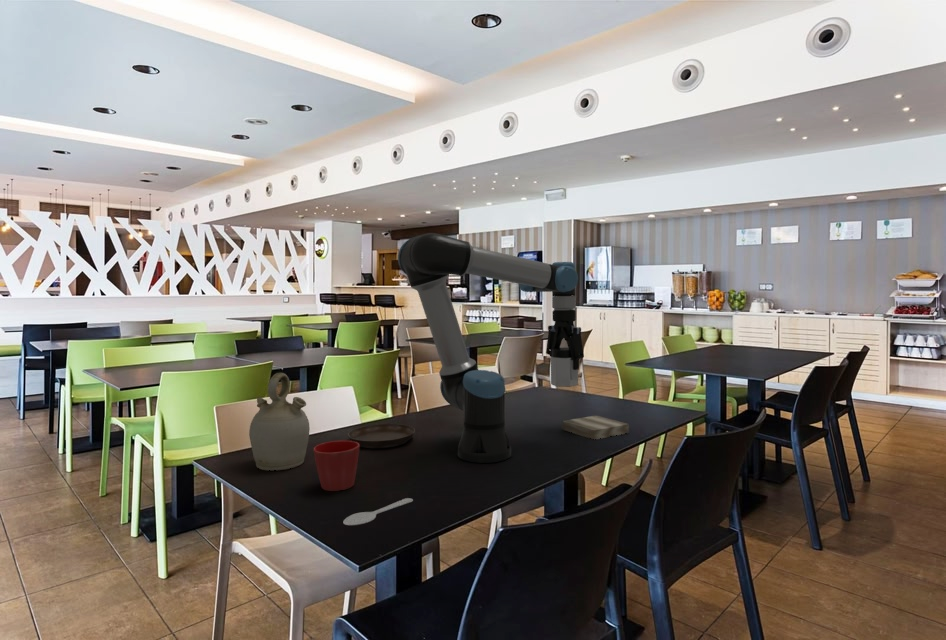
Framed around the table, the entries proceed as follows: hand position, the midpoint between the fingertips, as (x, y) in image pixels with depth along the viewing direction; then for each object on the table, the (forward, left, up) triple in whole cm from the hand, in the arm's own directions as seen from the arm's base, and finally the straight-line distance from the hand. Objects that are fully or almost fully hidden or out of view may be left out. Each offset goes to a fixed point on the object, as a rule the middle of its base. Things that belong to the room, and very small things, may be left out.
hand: (564, 377), depth 183 cm
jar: (0, 0, -3) cm, 3 cm away
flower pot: (-80, -11, -18) cm, 83 cm away
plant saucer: (-56, +21, -18) cm, 63 cm away
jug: (-88, +14, -18) cm, 91 cm away
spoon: (-77, -31, -18) cm, 85 cm away
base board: (+8, -6, -18) cm, 20 cm away
